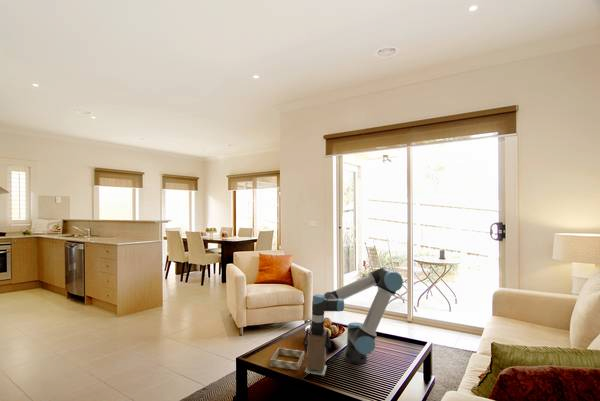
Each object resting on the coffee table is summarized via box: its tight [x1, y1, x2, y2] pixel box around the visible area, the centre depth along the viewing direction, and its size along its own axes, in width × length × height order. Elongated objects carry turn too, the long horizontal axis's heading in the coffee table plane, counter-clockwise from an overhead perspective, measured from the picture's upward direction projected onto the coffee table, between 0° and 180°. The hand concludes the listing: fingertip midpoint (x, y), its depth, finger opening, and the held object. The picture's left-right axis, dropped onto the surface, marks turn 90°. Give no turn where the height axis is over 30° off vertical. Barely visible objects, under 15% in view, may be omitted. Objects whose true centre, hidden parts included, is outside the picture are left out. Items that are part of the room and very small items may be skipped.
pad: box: [304, 364, 328, 376], centre depth 202 cm, size 12×12×1 cm
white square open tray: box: [269, 347, 305, 371], centre depth 210 cm, size 18×18×4 cm
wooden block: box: [306, 331, 327, 371], centre depth 202 cm, size 10×10×20 cm
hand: (316, 357), depth 202 cm, fingers closed on wooden block, 10 cm apart
